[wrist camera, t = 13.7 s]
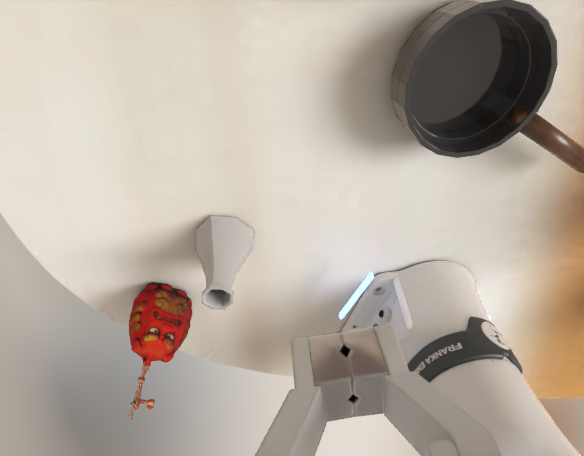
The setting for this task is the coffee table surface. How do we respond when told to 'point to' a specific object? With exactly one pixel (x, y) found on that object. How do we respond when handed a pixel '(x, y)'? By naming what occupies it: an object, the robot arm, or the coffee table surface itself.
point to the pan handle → (550, 139)
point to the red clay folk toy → (158, 328)
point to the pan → (473, 74)
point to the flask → (222, 256)
